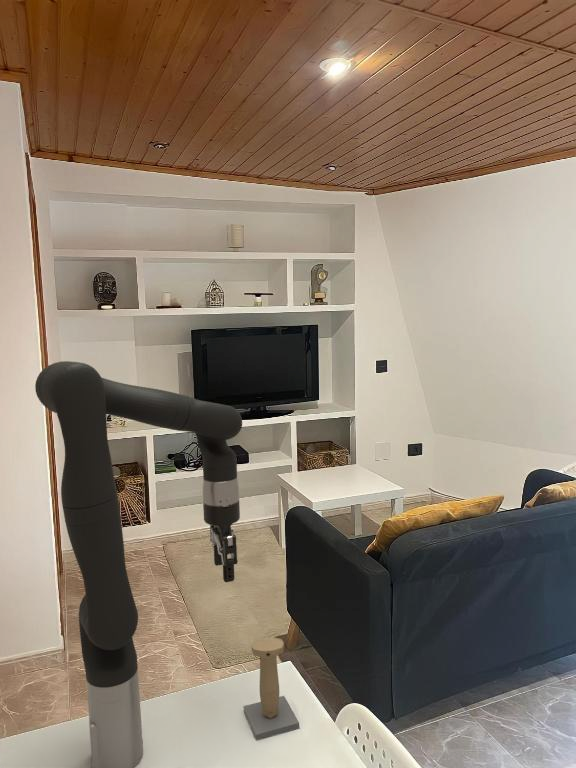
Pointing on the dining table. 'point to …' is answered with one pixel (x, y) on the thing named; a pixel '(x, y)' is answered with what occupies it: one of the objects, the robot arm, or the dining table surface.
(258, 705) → the plate
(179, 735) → the dining table surface
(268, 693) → the handle
